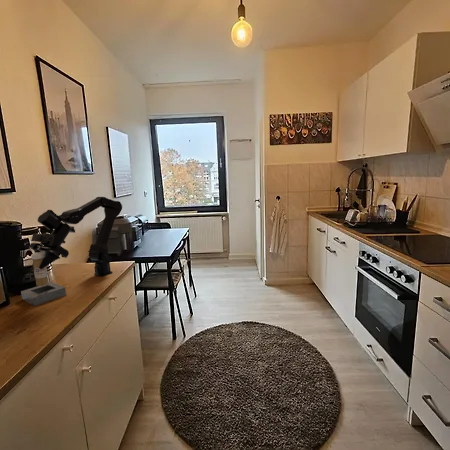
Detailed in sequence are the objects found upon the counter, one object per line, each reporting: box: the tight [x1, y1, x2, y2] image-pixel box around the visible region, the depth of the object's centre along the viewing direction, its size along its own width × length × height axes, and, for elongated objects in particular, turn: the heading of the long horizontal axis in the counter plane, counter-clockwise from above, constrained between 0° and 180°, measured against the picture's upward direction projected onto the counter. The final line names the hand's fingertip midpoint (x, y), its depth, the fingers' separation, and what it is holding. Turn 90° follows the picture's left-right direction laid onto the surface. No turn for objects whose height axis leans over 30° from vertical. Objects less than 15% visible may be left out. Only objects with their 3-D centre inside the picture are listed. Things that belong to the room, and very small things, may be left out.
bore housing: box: [20, 281, 67, 307], centre depth 119 cm, size 12×12×4 cm
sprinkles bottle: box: [30, 252, 50, 287], centre depth 117 cm, size 5×5×14 cm
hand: (36, 268), depth 116 cm, fingers closed on sprinkles bottle, 4 cm apart
